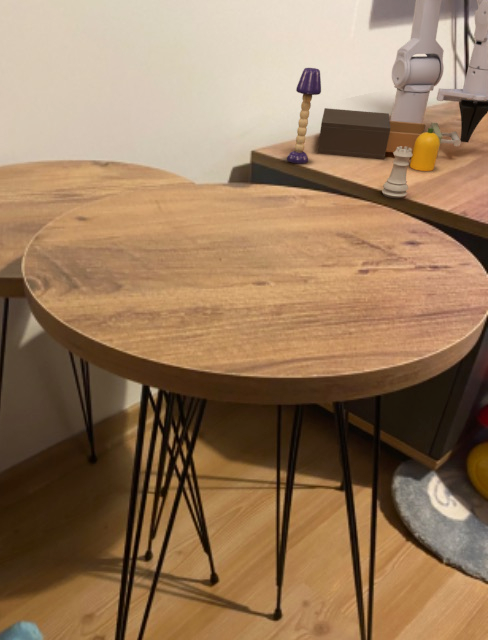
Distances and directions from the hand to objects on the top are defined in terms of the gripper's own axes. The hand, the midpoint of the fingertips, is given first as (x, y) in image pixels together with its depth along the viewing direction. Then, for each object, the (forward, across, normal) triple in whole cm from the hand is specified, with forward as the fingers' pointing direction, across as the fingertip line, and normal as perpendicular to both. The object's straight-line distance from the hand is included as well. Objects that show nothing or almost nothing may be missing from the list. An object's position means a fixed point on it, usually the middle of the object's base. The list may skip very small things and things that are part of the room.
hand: (464, 140), depth 134 cm
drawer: (+2, -9, 0) cm, 10 cm away
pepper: (+3, -8, -10) cm, 13 cm away
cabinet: (+3, -22, 0) cm, 23 cm away
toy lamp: (+4, -32, -13) cm, 35 cm away
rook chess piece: (+4, -14, -28) cm, 32 cm away
